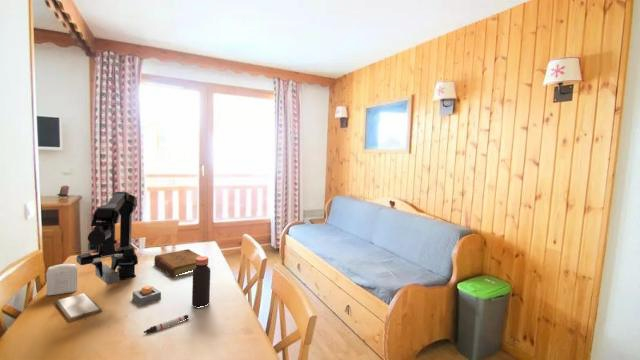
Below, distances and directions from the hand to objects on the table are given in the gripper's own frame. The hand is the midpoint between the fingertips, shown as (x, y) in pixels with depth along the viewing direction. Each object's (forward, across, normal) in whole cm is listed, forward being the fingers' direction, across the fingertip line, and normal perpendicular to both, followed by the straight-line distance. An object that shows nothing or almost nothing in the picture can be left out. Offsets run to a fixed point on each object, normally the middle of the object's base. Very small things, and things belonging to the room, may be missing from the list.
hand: (106, 275), depth 127 cm
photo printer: (+11, +9, -22) cm, 26 cm away
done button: (+9, -12, +9) cm, 17 cm away
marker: (+12, -8, +35) cm, 37 cm away
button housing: (+11, -12, +9) cm, 19 cm away
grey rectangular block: (+1, 0, 0) cm, 1 cm away
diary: (+12, -40, -16) cm, 45 cm away
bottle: (+11, -25, +29) cm, 40 cm away
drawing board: (+11, +9, -3) cm, 14 cm away
